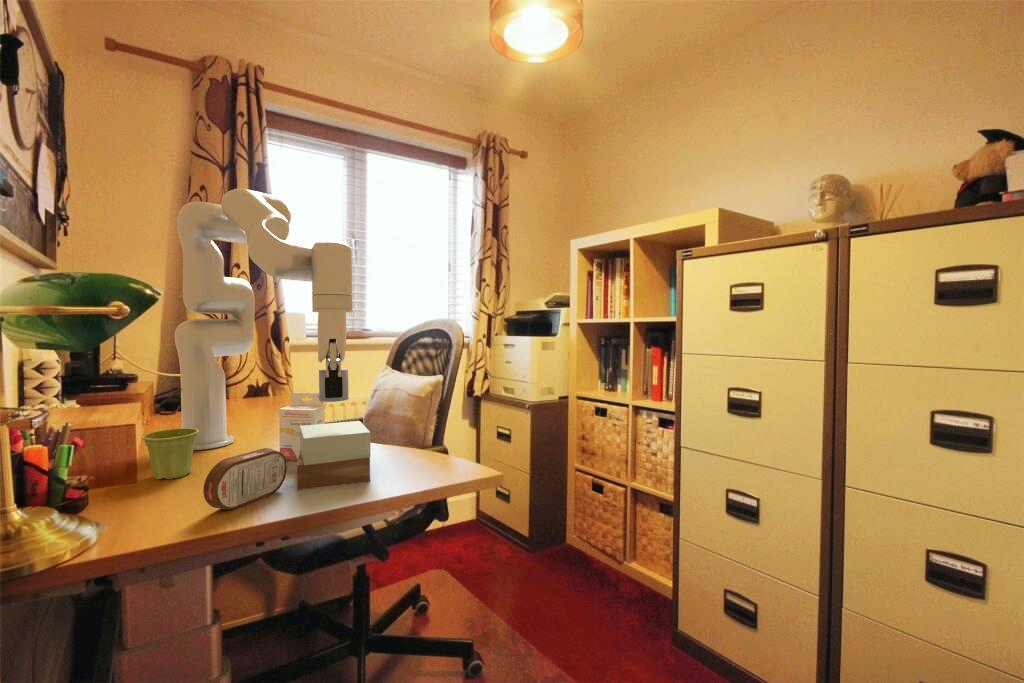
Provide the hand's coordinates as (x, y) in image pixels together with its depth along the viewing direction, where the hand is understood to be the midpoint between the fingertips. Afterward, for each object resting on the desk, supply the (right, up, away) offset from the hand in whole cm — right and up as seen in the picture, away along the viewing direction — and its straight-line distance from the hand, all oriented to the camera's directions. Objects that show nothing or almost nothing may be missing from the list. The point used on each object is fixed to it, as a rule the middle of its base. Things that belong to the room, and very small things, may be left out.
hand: (334, 394), depth 98 cm
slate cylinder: (0, -1, 0) cm, 1 cm away
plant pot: (-33, -17, +1) cm, 37 cm away
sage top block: (0, -12, +1) cm, 12 cm away
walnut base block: (0, -17, +1) cm, 17 cm away
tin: (-10, -17, -13) cm, 24 cm away
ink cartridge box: (-12, -16, +14) cm, 24 cm away
